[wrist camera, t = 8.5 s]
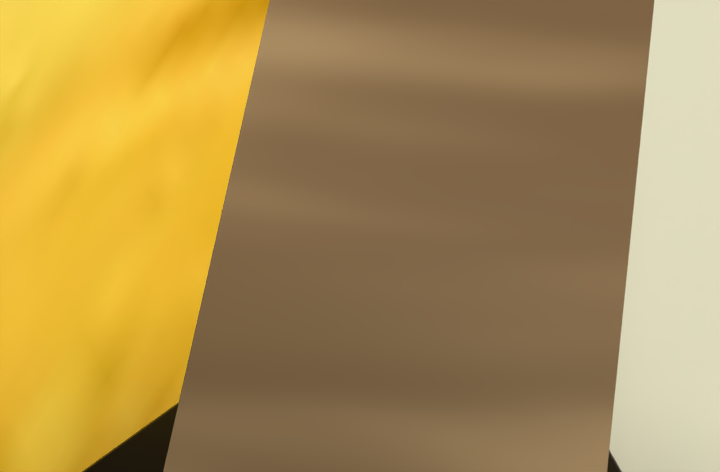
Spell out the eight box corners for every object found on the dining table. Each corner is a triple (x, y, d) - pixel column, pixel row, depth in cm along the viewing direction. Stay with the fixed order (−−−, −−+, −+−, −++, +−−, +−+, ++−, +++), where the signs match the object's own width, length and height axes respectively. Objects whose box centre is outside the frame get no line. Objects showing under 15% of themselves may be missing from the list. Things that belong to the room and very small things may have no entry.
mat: (958, 834, 13) (973, 848, 13) (168, 613, 17) (161, 618, 17) (962, -159, 18) (973, -171, 17) (332, -165, 21) (330, -174, 21)
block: (282, -57, 9) (58, 936, 7) (658, -38, 8) (539, 1132, 6) (327, 46, 12) (178, 775, 10) (610, 69, 11) (518, 890, 9)
